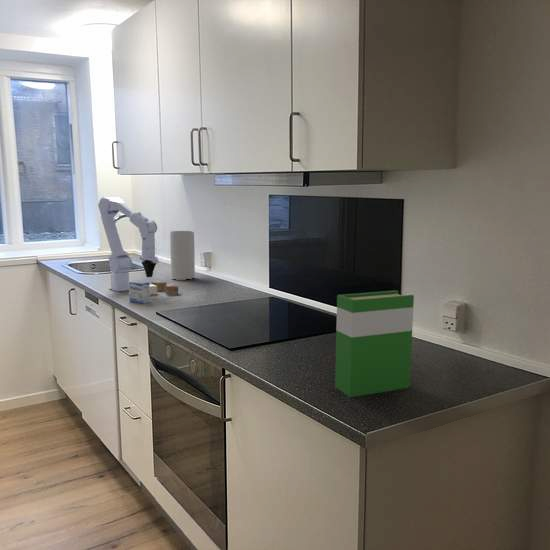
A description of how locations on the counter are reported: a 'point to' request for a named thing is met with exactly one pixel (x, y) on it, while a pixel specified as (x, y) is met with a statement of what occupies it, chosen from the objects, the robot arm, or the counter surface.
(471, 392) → the counter surface
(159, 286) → the dotted block
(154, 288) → the plain block
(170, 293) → the dotted block
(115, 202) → the robot arm
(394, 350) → the hardback book
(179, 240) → the cylinder vase
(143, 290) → the medicine box
